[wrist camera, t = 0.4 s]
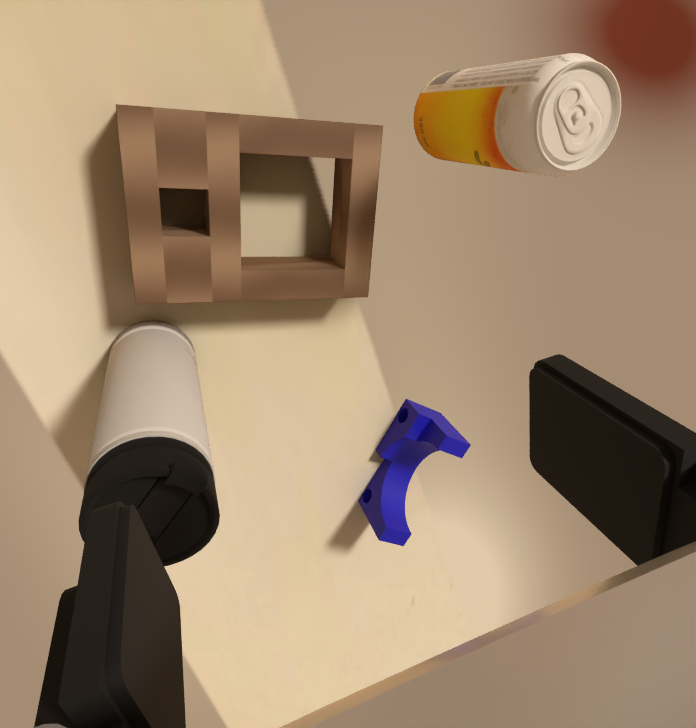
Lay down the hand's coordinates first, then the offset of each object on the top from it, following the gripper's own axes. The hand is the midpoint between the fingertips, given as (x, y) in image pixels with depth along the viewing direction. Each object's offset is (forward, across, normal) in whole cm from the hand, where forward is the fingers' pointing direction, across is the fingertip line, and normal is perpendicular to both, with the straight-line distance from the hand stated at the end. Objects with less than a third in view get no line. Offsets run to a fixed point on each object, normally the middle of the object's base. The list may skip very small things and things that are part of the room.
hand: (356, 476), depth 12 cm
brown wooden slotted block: (+31, -3, -1) cm, 31 cm away
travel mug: (+31, +7, +8) cm, 33 cm away
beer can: (+31, -19, -4) cm, 37 cm away
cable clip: (+32, -11, +26) cm, 42 cm away
